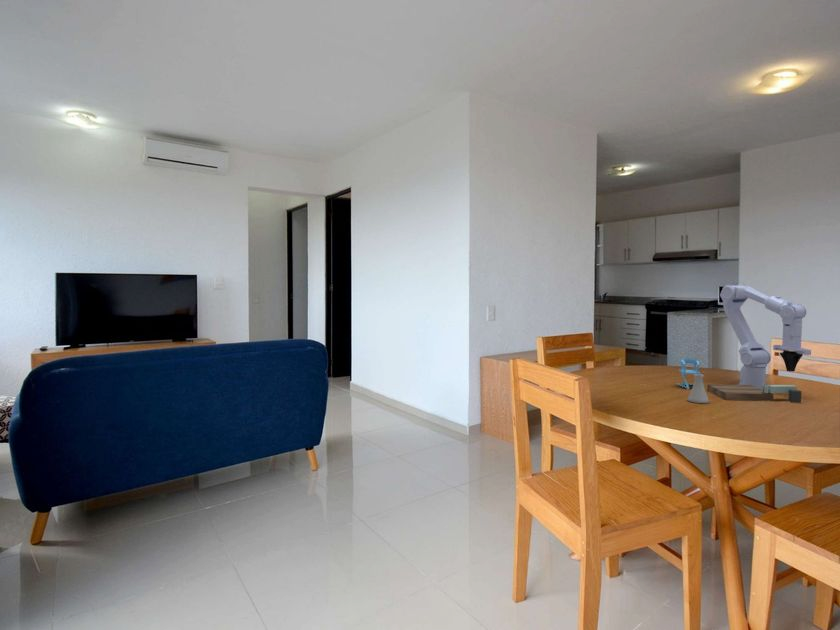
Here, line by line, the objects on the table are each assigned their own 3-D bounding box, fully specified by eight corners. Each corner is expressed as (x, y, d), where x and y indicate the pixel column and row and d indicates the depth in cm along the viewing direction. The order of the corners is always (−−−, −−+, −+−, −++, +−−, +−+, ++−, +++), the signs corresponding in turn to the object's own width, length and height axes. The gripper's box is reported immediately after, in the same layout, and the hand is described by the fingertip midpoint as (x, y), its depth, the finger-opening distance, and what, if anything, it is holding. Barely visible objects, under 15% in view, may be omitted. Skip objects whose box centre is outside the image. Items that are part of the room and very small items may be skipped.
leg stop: (788, 401, 176) (788, 389, 176) (797, 401, 175) (797, 390, 175) (791, 402, 174) (792, 391, 174) (801, 402, 173) (801, 391, 173)
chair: (681, 389, 198) (681, 360, 197) (676, 385, 206) (677, 357, 205) (702, 390, 195) (703, 361, 194) (697, 385, 203) (697, 357, 202)
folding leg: (765, 393, 177) (765, 386, 177) (761, 391, 179) (761, 385, 179) (796, 393, 176) (797, 386, 176) (791, 391, 179) (791, 384, 179)
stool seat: (707, 390, 195) (707, 384, 195) (750, 391, 192) (750, 384, 192) (726, 399, 179) (726, 393, 179) (773, 400, 177) (773, 394, 176)
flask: (712, 404, 173) (713, 377, 173) (691, 403, 175) (691, 376, 174) (705, 399, 180) (705, 373, 180) (684, 398, 182) (684, 372, 181)
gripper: (766, 334, 190) (765, 368, 191) (799, 338, 176) (798, 375, 177) (782, 333, 191) (781, 367, 192) (816, 337, 176) (815, 374, 177)
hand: (790, 371), depth 184 cm, fingers closed
